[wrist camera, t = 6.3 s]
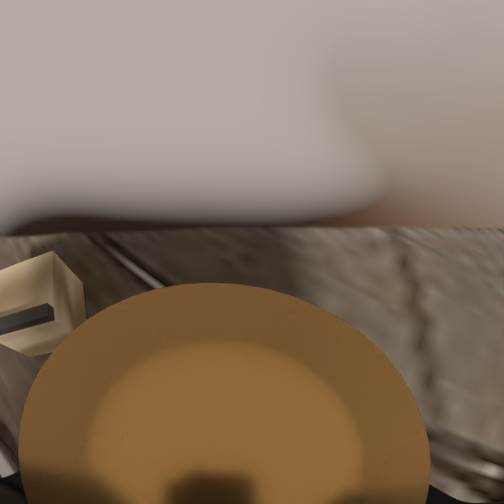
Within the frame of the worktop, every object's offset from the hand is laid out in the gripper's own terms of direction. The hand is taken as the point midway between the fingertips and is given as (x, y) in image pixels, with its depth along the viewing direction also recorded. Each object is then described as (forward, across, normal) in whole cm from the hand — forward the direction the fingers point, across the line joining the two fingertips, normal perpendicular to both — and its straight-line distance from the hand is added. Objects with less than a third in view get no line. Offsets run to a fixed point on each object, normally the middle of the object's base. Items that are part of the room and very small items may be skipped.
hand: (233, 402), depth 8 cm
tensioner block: (+11, +14, +4) cm, 19 cm away
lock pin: (+5, 0, +7) cm, 8 cm away
